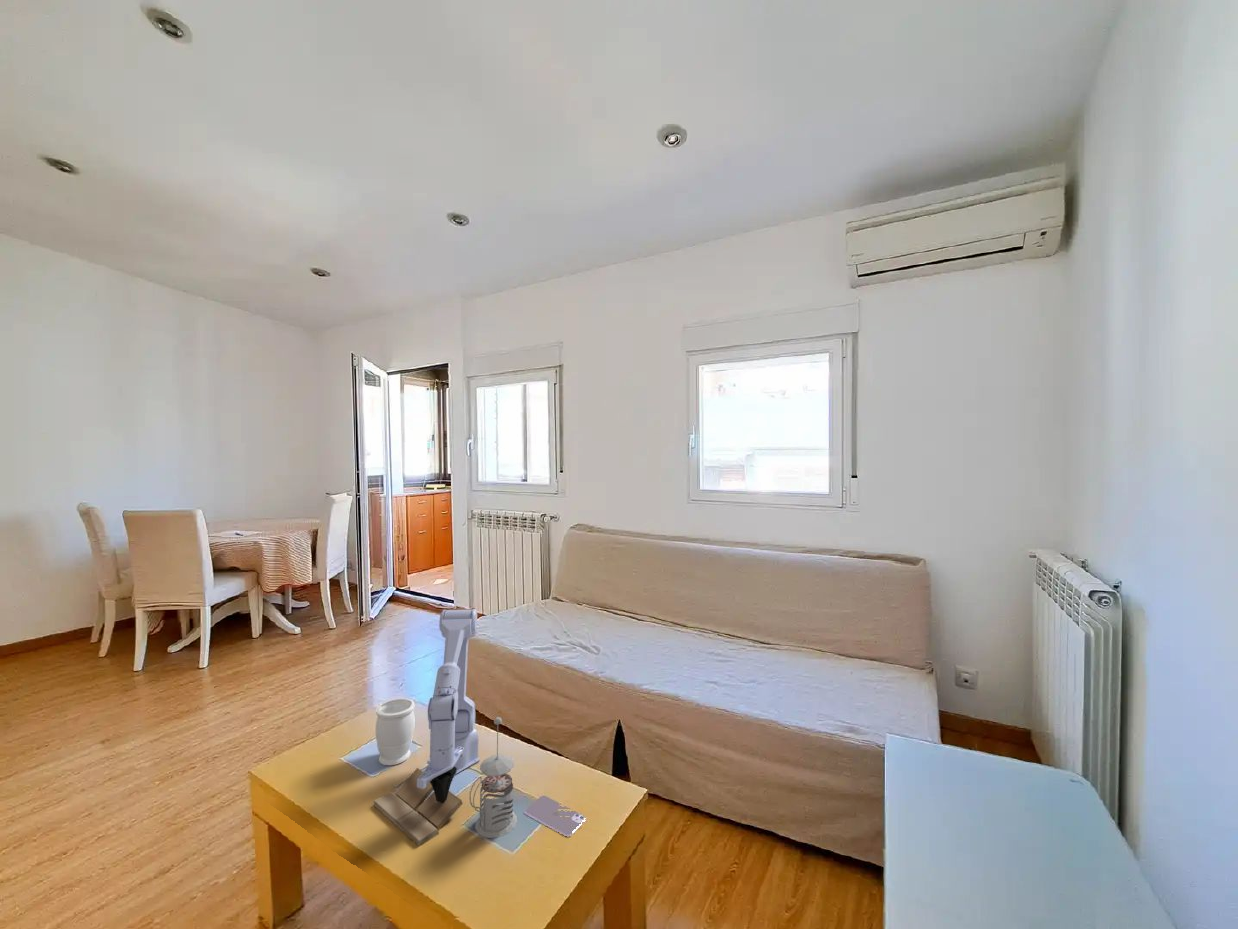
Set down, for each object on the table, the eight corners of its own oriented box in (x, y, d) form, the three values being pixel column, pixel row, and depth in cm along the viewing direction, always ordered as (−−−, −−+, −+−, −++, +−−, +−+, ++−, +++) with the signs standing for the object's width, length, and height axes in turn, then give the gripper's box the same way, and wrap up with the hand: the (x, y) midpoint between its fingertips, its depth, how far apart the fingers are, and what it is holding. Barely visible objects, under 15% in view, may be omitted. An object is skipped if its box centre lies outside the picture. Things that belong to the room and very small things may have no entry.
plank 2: (441, 788, 123) (440, 785, 123) (462, 803, 118) (461, 800, 117) (418, 813, 118) (416, 809, 117) (438, 830, 112) (437, 826, 112)
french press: (525, 822, 115) (526, 718, 115) (481, 849, 107) (483, 736, 107) (503, 802, 122) (504, 703, 122) (460, 826, 114) (462, 720, 114)
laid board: (392, 795, 124) (392, 790, 124) (438, 833, 111) (438, 828, 111) (374, 805, 120) (374, 800, 120) (419, 846, 107) (419, 840, 107)
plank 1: (419, 770, 129) (417, 767, 128) (438, 784, 123) (436, 781, 123) (397, 795, 124) (394, 793, 123) (415, 811, 118) (413, 808, 118)
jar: (421, 754, 142) (422, 704, 142) (388, 773, 133) (389, 719, 133) (400, 743, 147) (401, 694, 148) (367, 760, 139) (368, 708, 139)
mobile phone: (543, 793, 125) (589, 816, 117) (543, 796, 125) (589, 820, 117) (522, 810, 118) (569, 836, 110) (522, 814, 118) (569, 840, 110)
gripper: (449, 726, 126) (448, 778, 126) (407, 757, 113) (406, 815, 113) (471, 732, 124) (470, 785, 124) (430, 764, 110) (429, 823, 110)
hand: (441, 800), depth 118 cm, fingers closed
